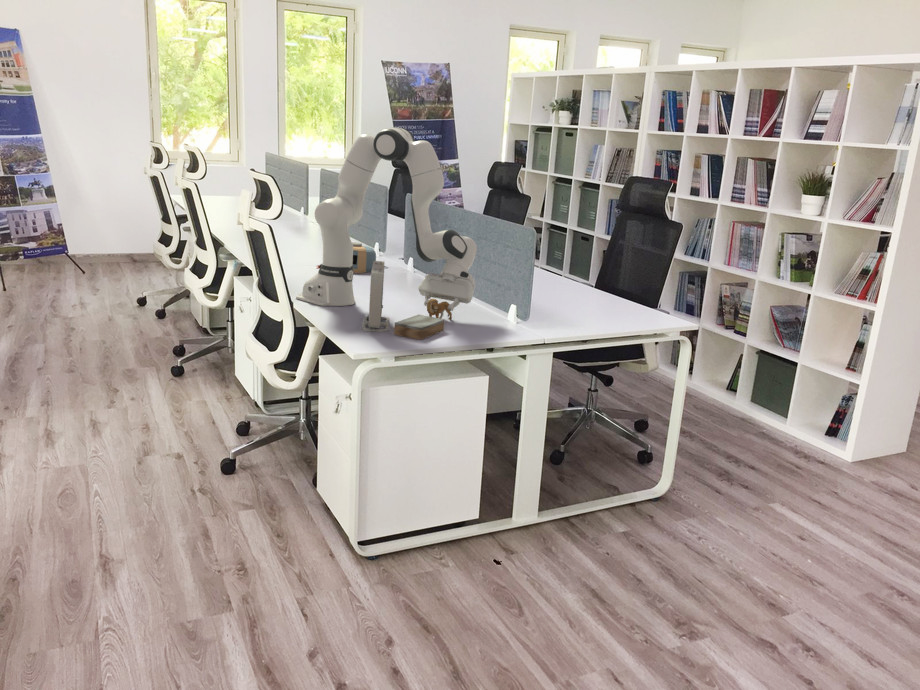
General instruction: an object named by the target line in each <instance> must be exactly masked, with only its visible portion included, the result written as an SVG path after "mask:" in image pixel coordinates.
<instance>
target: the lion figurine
mask: <svg viewBox="0 0 920 690" xmlns="http://www.w3.org/2000/svg"><path fill="white" fill-rule="evenodd" d="M428 300H429V301H428V302H427V306H426V311H427V313H428V316H429V317H433V316H435V318H439V319H443V317H444V312H446V313H447V317H448V320H449V321H451V320H452V318H453V316H452V315H453V314H452V311H449V310H448V306H449V304H450V303H449V302H447V301H441V302H439V301H438V300H437V298H430V299H428Z"/></svg>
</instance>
